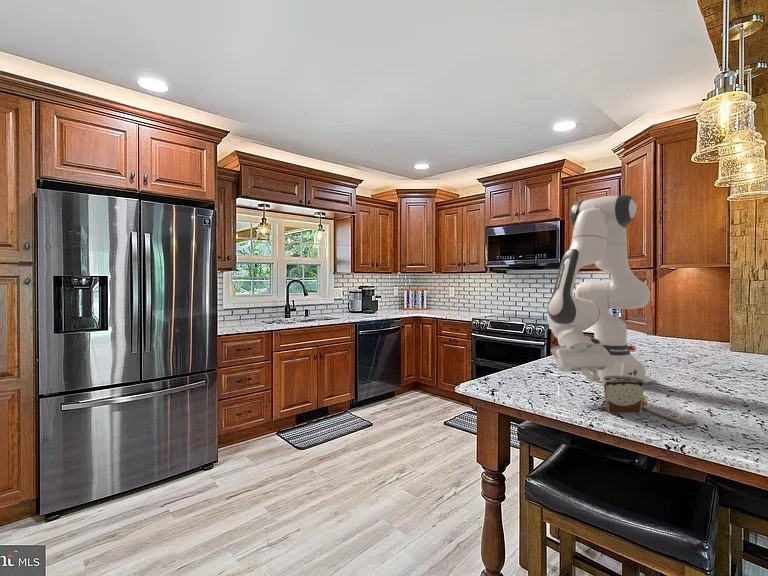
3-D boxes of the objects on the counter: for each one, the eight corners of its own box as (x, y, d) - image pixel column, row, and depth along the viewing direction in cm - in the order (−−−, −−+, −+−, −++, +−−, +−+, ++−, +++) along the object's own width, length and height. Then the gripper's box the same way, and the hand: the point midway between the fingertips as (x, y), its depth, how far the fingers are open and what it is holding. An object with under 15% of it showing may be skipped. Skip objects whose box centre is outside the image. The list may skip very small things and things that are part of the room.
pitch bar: (636, 402, 130) (636, 391, 130) (697, 424, 110) (697, 411, 110) (624, 403, 129) (625, 392, 129) (684, 425, 109) (684, 412, 109)
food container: (633, 407, 125) (633, 375, 125) (645, 413, 119) (646, 380, 119) (593, 406, 125) (593, 375, 125) (603, 413, 119) (603, 380, 119)
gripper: (553, 341, 136) (572, 376, 126) (604, 340, 140) (627, 374, 131) (544, 352, 140) (562, 387, 131) (594, 350, 145) (615, 384, 135)
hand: (595, 380), depth 131 cm, fingers closed
